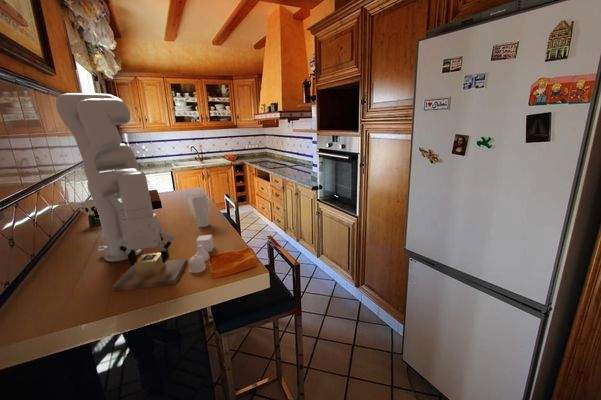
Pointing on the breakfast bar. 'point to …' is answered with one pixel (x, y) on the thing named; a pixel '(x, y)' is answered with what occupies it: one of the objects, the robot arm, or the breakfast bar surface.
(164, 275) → the post board
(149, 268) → the brass collar
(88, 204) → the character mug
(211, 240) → the container set
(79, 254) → the breakfast bar surface
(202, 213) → the drinking glass
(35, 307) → the breakfast bar surface
